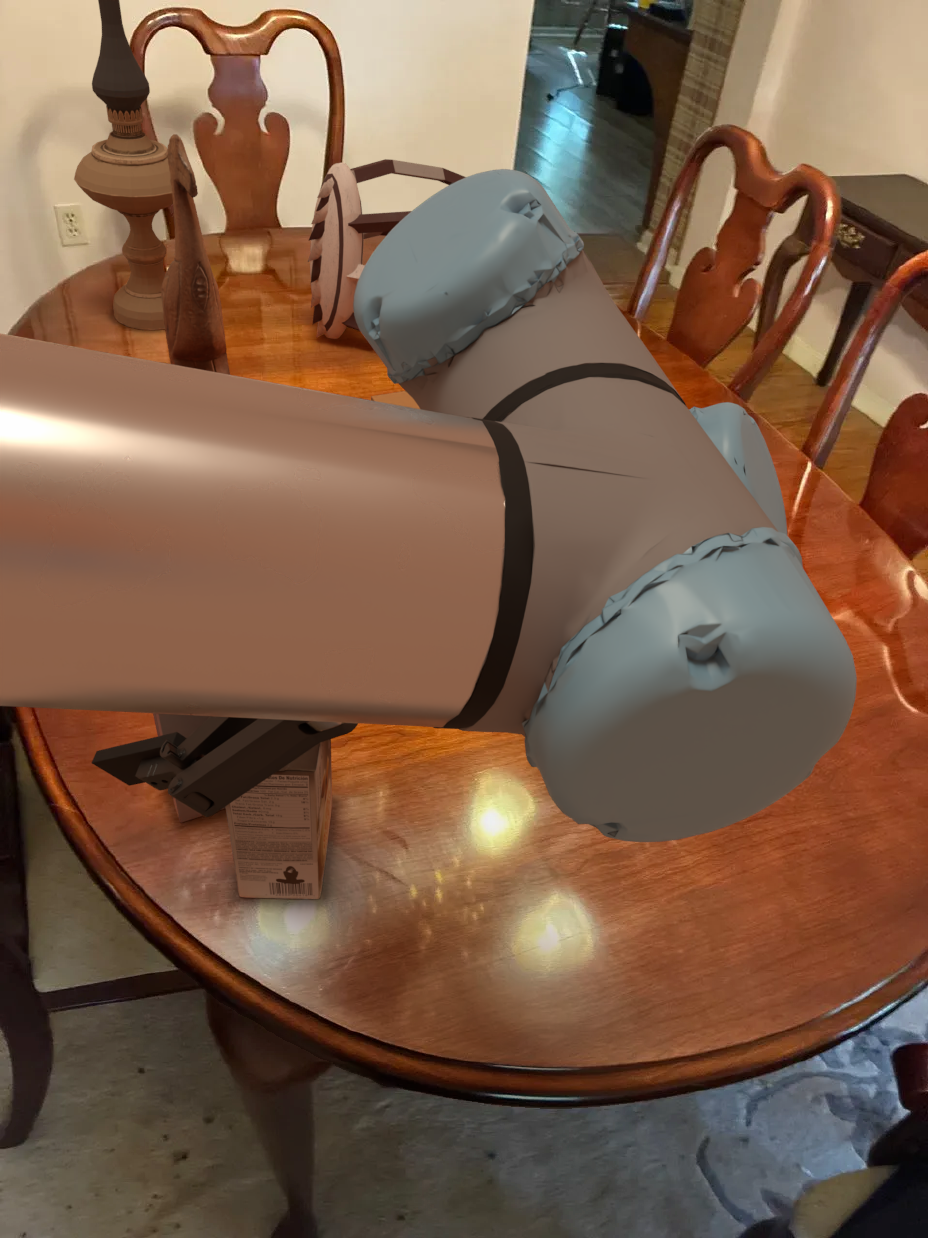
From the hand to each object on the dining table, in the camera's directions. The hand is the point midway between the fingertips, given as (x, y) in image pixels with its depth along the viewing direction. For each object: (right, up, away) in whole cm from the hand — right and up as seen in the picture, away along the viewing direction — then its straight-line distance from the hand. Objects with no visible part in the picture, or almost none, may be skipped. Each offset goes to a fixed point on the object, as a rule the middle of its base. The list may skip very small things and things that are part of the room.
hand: (155, 667), depth 55 cm
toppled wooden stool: (+10, +48, +87) cm, 100 cm away
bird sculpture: (-15, +30, +64) cm, 72 cm away
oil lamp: (-28, +48, +82) cm, 99 cm away
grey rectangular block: (-1, -11, +21) cm, 24 cm away
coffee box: (+5, -15, +18) cm, 24 cm away
